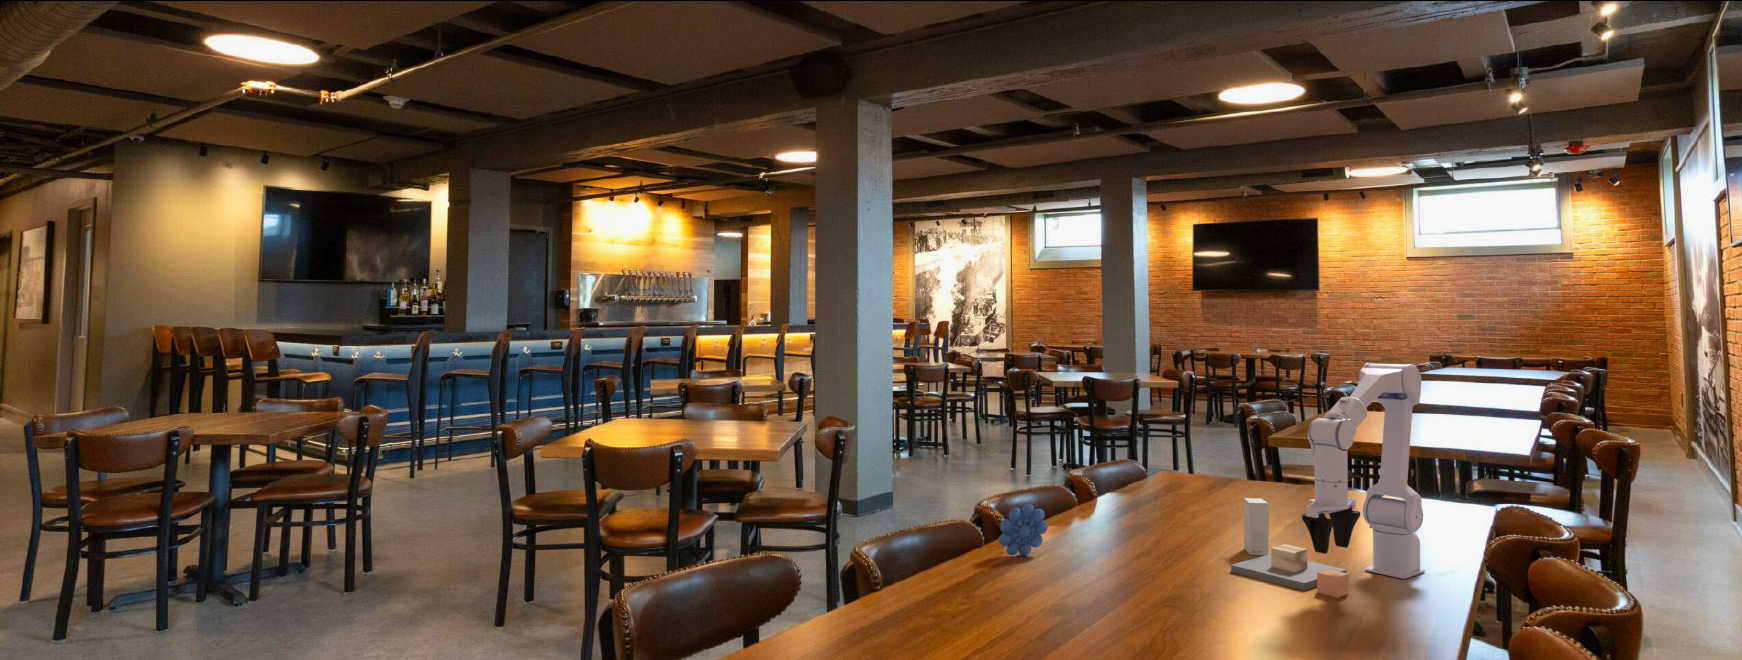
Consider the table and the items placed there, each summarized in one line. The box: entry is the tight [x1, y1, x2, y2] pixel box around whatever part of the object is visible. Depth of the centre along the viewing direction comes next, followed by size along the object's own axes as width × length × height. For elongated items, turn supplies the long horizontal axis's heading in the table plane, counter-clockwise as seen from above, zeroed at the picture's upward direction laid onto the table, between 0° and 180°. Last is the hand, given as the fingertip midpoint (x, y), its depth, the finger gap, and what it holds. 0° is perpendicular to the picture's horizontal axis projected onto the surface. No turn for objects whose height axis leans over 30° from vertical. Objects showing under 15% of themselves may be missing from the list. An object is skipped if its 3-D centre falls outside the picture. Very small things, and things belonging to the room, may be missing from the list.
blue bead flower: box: [998, 503, 1049, 557], centre depth 198 cm, size 12×7×12 cm, turn 98°
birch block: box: [1270, 543, 1308, 572], centre depth 180 cm, size 5×5×4 cm
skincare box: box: [1243, 497, 1270, 556], centre depth 198 cm, size 6×4×12 cm
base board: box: [1230, 553, 1348, 591], centre depth 180 cm, size 16×16×2 cm
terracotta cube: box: [1316, 569, 1350, 598], centre depth 167 cm, size 4×4×4 cm
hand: (1331, 549), depth 168 cm, fingers open, 7 cm apart
